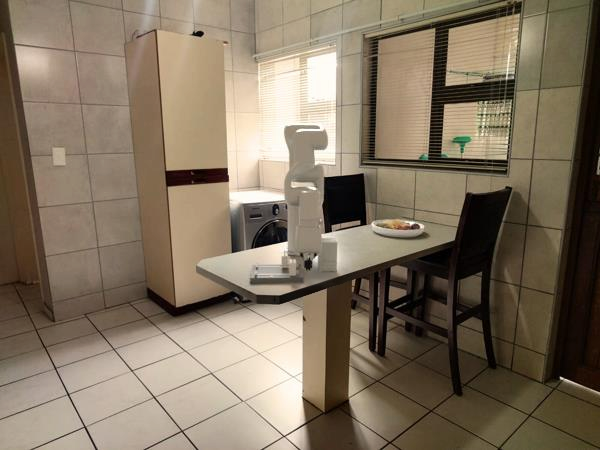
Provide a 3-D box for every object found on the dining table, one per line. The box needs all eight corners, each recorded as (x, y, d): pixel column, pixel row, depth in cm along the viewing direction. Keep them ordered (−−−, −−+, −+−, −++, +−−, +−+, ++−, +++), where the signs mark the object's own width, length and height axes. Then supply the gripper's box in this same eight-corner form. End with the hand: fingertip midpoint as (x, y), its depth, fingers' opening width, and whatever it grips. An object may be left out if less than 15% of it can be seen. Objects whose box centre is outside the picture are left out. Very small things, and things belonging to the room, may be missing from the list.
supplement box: (334, 266, 172) (335, 237, 169) (336, 271, 165) (337, 242, 162) (317, 266, 172) (318, 237, 169) (318, 271, 164) (319, 241, 162)
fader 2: (289, 271, 157) (289, 258, 156) (295, 271, 157) (295, 258, 156) (289, 275, 152) (289, 262, 151) (296, 275, 152) (296, 262, 151)
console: (252, 269, 166) (252, 262, 166) (300, 269, 168) (300, 262, 167) (250, 283, 151) (250, 275, 150) (303, 282, 152) (303, 274, 151)
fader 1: (281, 264, 165) (281, 252, 164) (287, 264, 166) (287, 252, 164) (281, 268, 161) (281, 255, 160) (287, 268, 161) (287, 255, 160)
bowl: (360, 232, 237) (361, 218, 235) (390, 225, 256) (391, 213, 255) (404, 242, 215) (405, 227, 213) (433, 233, 235) (434, 220, 233)
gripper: (327, 221, 155) (326, 266, 159) (288, 221, 154) (288, 266, 158) (329, 225, 148) (328, 272, 151) (289, 225, 147) (289, 272, 150)
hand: (308, 269), depth 155 cm, fingers closed
